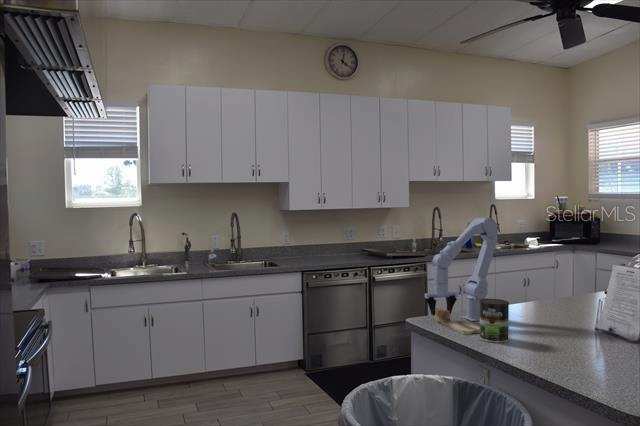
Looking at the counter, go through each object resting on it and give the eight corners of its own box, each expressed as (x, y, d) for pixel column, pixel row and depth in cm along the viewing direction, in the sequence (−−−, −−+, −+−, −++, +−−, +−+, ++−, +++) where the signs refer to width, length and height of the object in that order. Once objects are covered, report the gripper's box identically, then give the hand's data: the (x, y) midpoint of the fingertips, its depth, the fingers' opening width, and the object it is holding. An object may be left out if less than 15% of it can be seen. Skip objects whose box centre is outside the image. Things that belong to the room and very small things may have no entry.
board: (467, 322, 213) (467, 319, 213) (490, 332, 197) (491, 328, 197) (442, 324, 209) (442, 321, 209) (463, 334, 194) (463, 331, 194)
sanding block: (441, 319, 220) (441, 307, 220) (450, 323, 212) (450, 311, 212) (432, 319, 219) (432, 308, 219) (441, 324, 211) (441, 312, 211)
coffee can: (506, 344, 180) (506, 304, 180) (477, 340, 185) (477, 302, 185) (510, 337, 189) (510, 299, 189) (482, 334, 194) (482, 297, 194)
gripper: (451, 280, 221) (451, 311, 222) (421, 281, 217) (421, 313, 217) (460, 282, 215) (460, 314, 215) (429, 284, 210) (429, 317, 211)
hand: (441, 314), depth 216 cm, fingers open, 7 cm apart
